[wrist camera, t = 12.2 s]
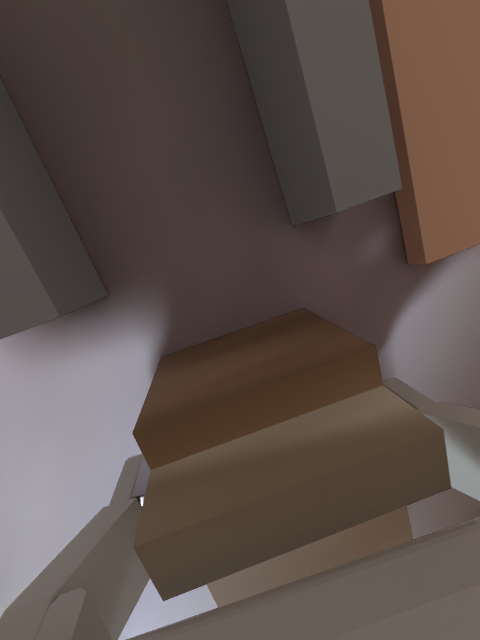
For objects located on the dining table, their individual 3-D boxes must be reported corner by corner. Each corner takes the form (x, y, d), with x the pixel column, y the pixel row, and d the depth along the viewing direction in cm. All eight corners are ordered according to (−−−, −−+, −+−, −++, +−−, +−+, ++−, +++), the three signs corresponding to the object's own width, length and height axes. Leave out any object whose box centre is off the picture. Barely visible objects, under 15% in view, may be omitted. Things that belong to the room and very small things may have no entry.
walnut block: (359, 524, 12) (484, 738, 7) (250, 567, 12) (290, 825, 6) (303, 308, 9) (436, 379, 4) (161, 357, 9) (106, 501, 4)
